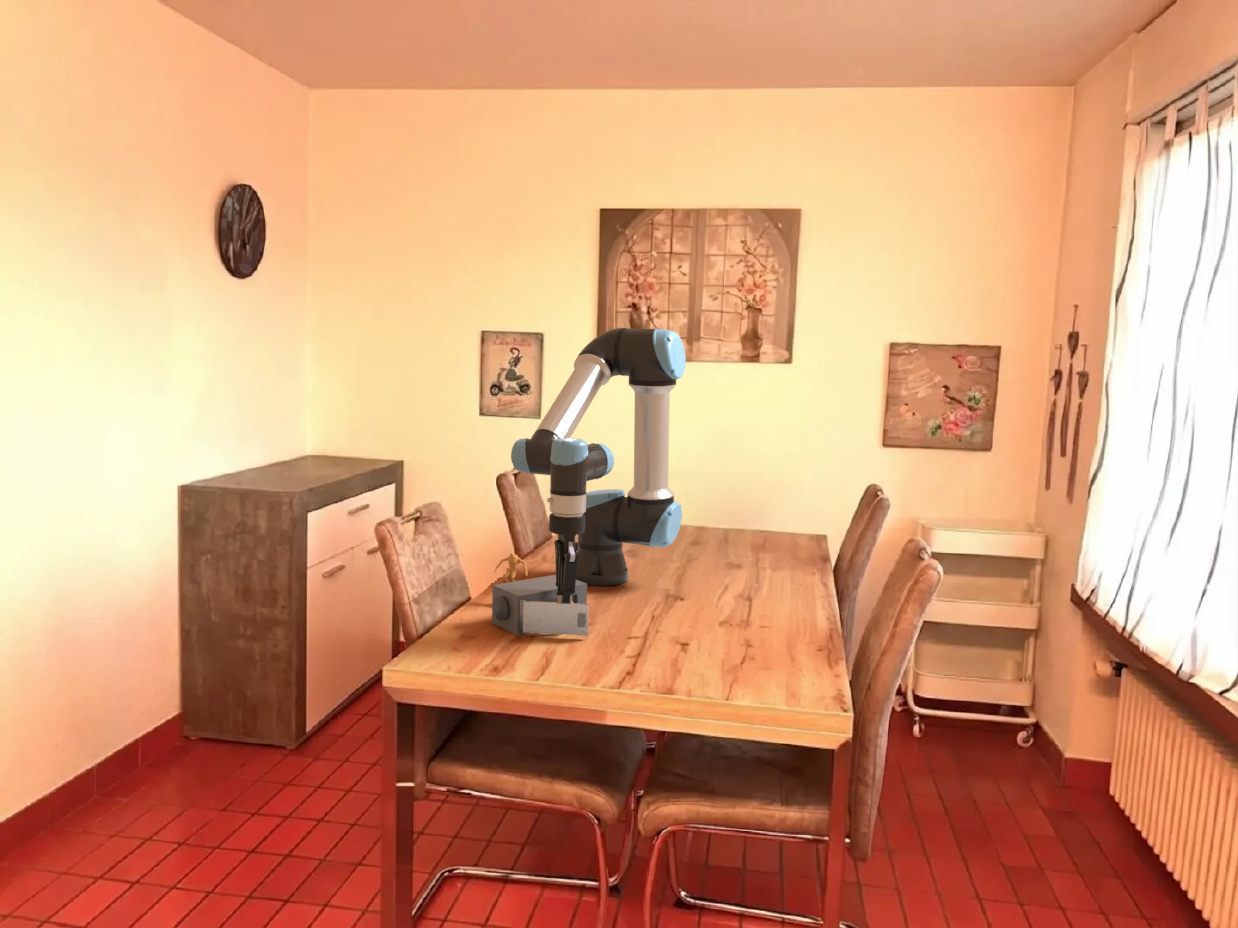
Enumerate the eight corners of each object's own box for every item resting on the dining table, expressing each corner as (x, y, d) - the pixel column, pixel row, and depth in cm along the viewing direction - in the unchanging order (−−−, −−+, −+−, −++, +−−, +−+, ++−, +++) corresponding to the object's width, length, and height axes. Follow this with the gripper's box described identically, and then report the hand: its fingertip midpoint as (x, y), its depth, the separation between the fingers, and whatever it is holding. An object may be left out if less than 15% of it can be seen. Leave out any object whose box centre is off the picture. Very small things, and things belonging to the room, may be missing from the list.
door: (587, 635, 194) (589, 602, 193) (587, 638, 192) (588, 604, 191) (519, 632, 195) (520, 598, 194) (518, 634, 193) (519, 601, 192)
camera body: (559, 610, 213) (560, 573, 212) (586, 621, 206) (587, 583, 205) (487, 624, 201) (488, 585, 200) (513, 636, 194) (514, 596, 193)
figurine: (487, 605, 215) (488, 554, 213) (498, 598, 221) (499, 549, 219) (520, 609, 213) (521, 558, 211) (531, 603, 218) (532, 552, 217)
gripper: (543, 508, 198) (540, 615, 201) (555, 519, 186) (552, 634, 189) (578, 507, 200) (574, 614, 203) (592, 519, 188) (588, 632, 191)
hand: (564, 623), depth 196 cm, fingers closed
